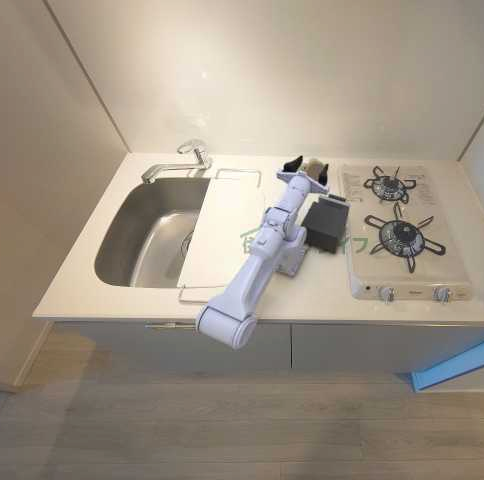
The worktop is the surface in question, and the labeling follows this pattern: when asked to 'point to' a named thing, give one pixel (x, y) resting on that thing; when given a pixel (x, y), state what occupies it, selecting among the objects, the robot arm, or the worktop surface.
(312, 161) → the mug
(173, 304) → the worktop surface
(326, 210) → the cabinet
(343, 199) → the drawer
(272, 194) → the worktop surface
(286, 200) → the robot arm
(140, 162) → the worktop surface
